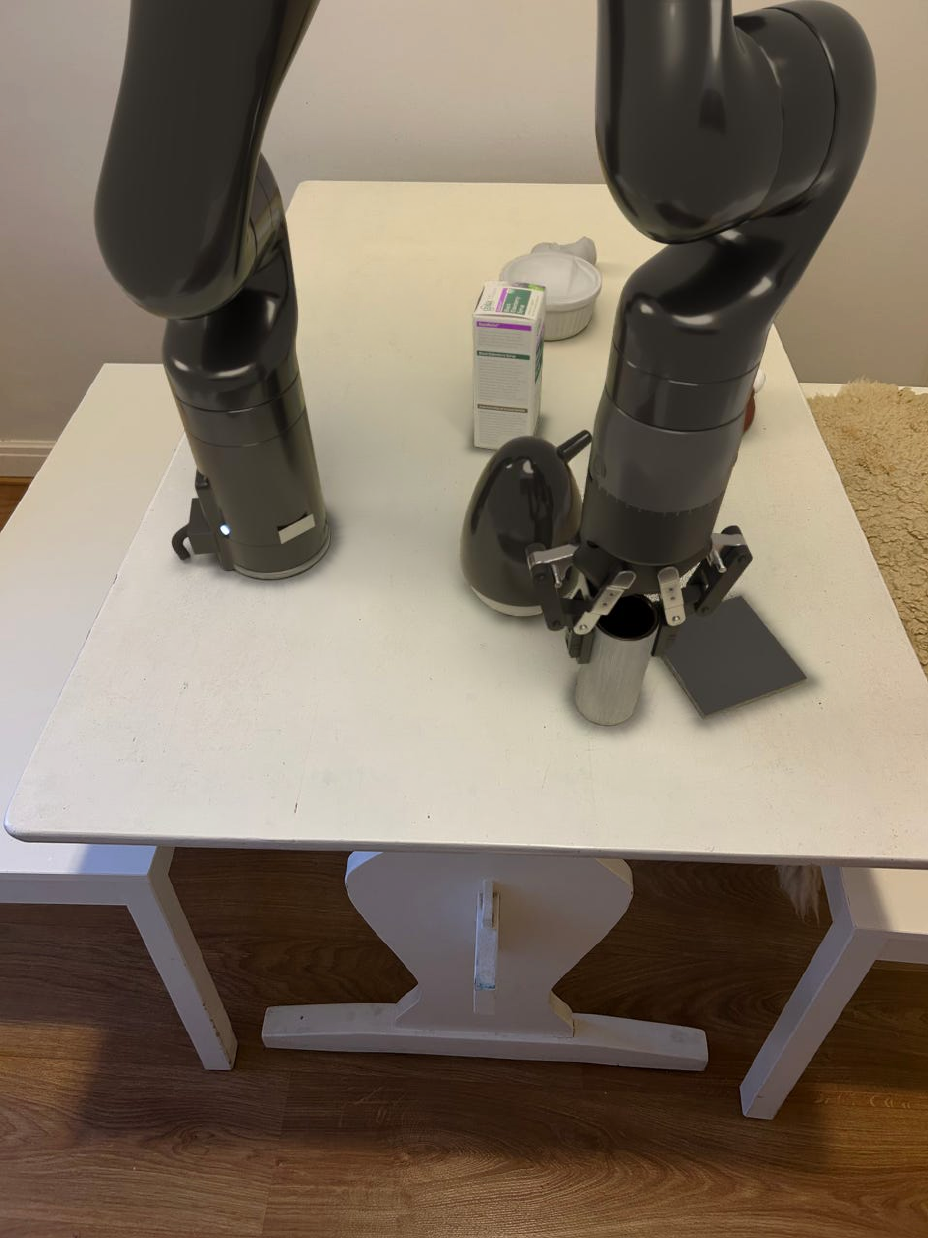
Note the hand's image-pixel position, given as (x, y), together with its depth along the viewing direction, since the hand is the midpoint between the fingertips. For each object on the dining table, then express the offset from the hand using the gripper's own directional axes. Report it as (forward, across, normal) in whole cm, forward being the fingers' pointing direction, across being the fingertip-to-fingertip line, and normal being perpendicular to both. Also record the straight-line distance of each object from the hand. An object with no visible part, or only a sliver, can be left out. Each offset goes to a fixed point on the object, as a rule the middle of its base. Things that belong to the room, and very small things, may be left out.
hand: (616, 649), depth 58 cm
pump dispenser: (+7, +4, -12) cm, 14 cm away
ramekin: (+7, -5, -52) cm, 53 cm away
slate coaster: (+6, -10, -3) cm, 12 cm away
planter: (+7, 0, 0) cm, 7 cm away
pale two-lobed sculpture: (+7, -8, -62) cm, 63 cm away
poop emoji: (+7, -18, -33) cm, 38 cm away
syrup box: (+7, +3, -32) cm, 33 cm away
